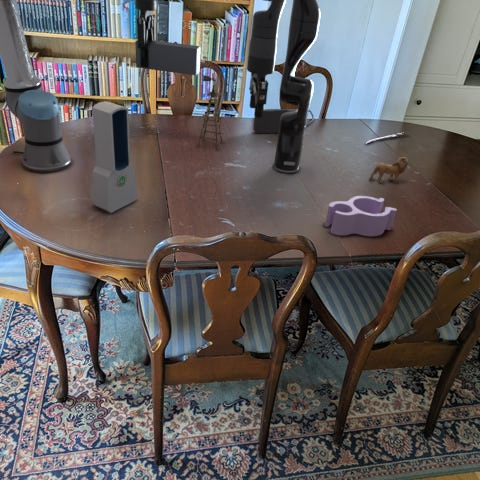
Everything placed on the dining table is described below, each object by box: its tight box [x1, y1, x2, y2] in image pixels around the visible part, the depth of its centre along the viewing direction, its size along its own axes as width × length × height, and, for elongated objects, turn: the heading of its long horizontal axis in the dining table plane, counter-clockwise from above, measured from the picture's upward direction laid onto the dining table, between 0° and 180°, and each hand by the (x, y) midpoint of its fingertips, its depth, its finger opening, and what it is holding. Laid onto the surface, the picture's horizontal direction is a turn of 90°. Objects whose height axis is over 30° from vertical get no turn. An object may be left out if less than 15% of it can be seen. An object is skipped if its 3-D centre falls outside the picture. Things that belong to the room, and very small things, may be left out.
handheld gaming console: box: [252, 108, 298, 134], centre depth 205 cm, size 23×3×10 cm, turn 108°
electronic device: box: [89, 101, 139, 214], centre depth 133 cm, size 12×8×30 cm, turn 148°
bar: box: [134, 39, 202, 76], centre depth 175 cm, size 23×5×9 cm, turn 80°
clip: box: [324, 195, 398, 237], centre depth 141 cm, size 20×12×7 cm, turn 109°
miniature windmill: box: [197, 67, 224, 150], centre depth 180 cm, size 9×8×30 cm
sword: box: [365, 132, 410, 145], centre depth 213 cm, size 31×3×1 cm, turn 126°
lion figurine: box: [368, 156, 409, 184], centre depth 171 cm, size 15×5×9 cm, turn 110°
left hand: (147, 65), depth 178 cm, fingers closed on bar, 5 cm apart
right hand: (255, 112), depth 136 cm, fingers open, 8 cm apart
